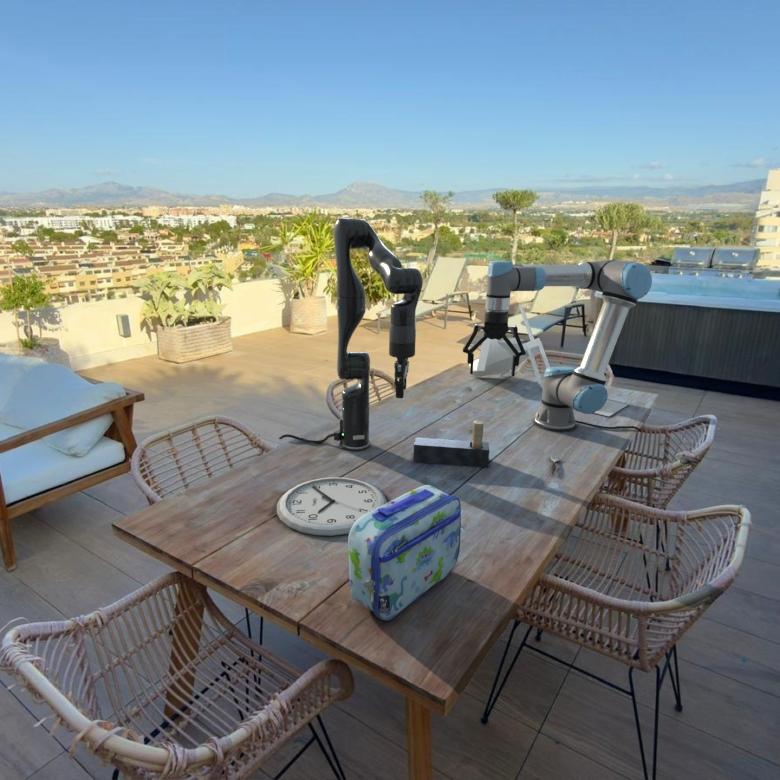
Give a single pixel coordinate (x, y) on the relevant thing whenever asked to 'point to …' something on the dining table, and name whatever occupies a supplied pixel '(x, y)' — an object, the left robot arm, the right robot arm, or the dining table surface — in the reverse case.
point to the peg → (477, 434)
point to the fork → (554, 461)
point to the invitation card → (610, 408)
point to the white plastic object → (507, 355)
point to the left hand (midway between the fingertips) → (401, 393)
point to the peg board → (450, 452)
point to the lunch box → (403, 549)
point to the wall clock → (328, 505)
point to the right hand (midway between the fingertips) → (491, 374)
